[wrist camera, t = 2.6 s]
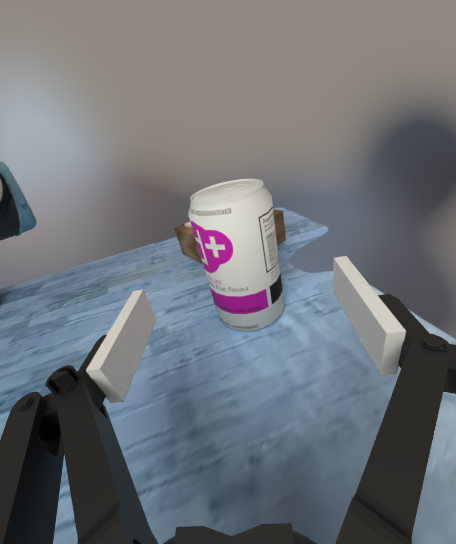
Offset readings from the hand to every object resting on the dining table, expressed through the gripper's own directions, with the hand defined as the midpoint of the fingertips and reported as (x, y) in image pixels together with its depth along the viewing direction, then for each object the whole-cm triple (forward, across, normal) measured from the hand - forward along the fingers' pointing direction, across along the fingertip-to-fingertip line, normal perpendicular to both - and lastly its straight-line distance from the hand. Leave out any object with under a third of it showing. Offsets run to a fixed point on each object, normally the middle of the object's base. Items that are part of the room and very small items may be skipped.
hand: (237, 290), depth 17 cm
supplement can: (+10, 0, -11) cm, 15 cm away
